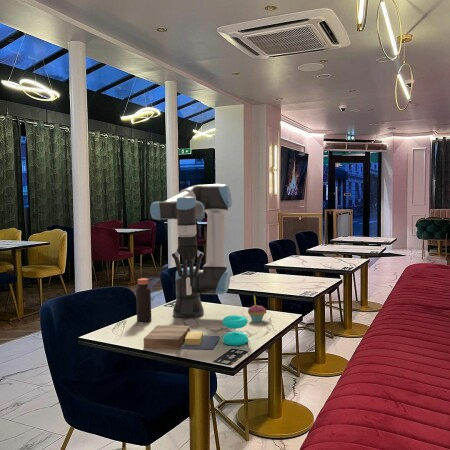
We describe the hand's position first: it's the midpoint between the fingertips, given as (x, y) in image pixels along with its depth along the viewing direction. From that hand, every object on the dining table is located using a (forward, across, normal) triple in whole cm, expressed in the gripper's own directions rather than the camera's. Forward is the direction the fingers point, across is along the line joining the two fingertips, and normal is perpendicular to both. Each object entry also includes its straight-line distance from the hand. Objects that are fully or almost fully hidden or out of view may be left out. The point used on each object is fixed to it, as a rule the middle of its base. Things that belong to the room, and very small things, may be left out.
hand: (189, 294), depth 185 cm
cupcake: (+20, +25, +31) cm, 45 cm away
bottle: (+20, -28, +27) cm, 44 cm away
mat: (+19, +5, -2) cm, 20 cm away
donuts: (+19, +18, -1) cm, 27 cm away
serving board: (+19, -9, -2) cm, 21 cm away
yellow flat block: (+19, +2, -2) cm, 19 cm away
